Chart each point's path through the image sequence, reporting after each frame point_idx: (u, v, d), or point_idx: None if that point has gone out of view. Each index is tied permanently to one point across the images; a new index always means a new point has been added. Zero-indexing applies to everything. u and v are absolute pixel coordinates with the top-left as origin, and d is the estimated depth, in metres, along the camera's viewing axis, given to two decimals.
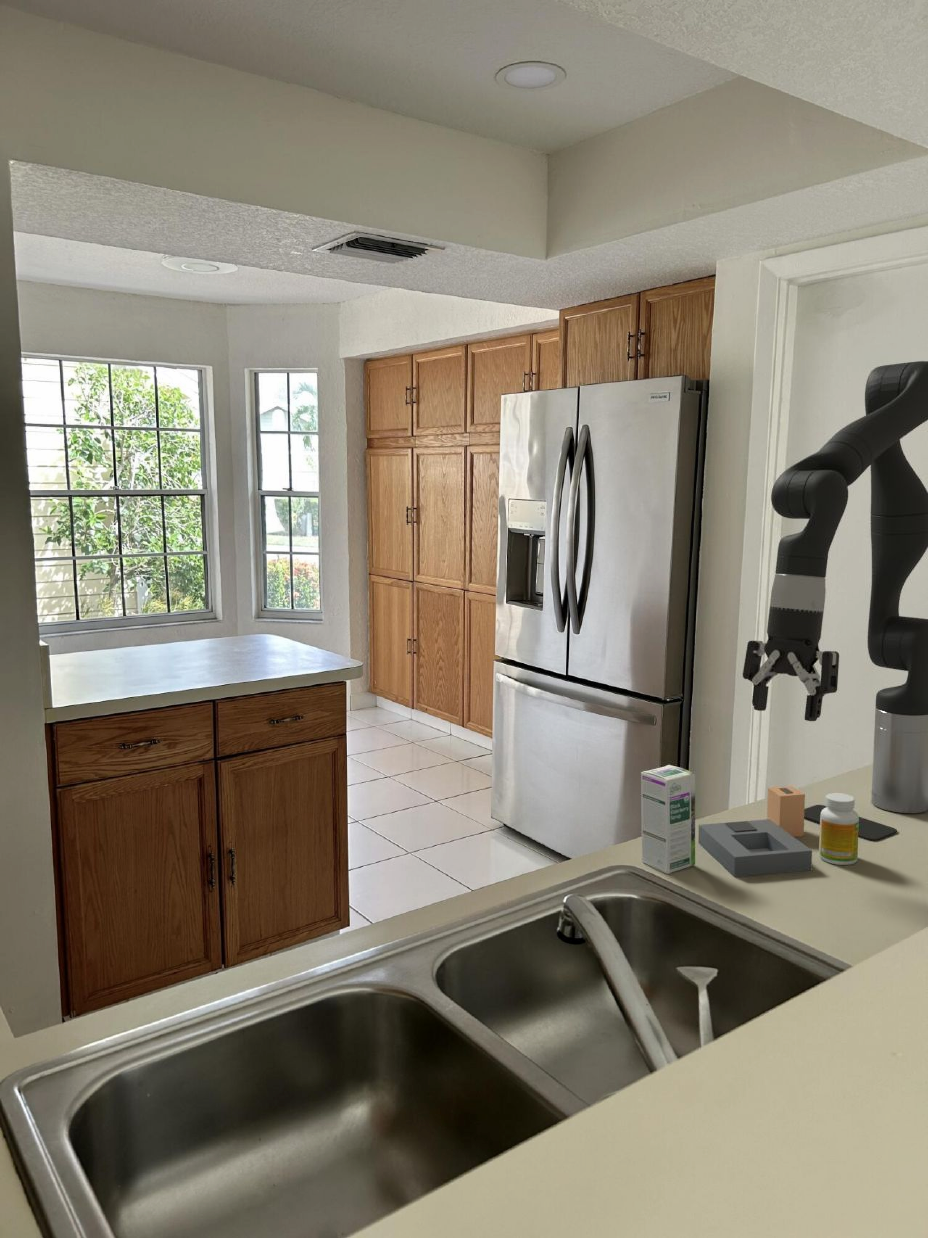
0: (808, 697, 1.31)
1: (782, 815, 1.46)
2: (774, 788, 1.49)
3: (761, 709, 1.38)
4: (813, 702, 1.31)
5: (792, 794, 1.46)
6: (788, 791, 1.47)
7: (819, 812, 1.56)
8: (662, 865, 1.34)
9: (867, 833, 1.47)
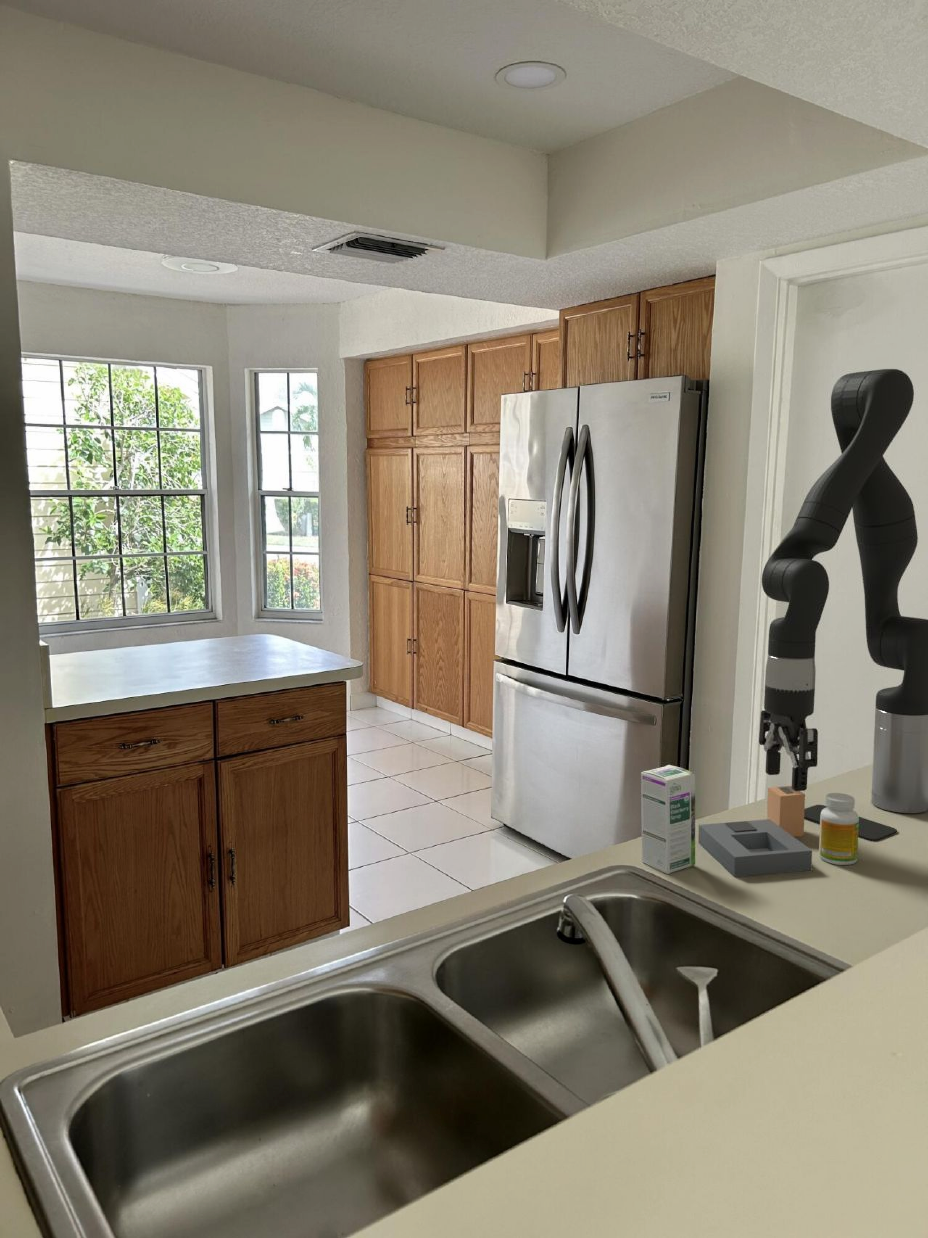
0: (793, 769, 1.43)
1: (782, 815, 1.46)
2: (774, 788, 1.49)
3: (773, 773, 1.51)
4: (797, 774, 1.42)
5: (792, 794, 1.46)
6: (788, 791, 1.47)
7: (819, 812, 1.56)
8: (662, 865, 1.34)
9: (867, 833, 1.47)
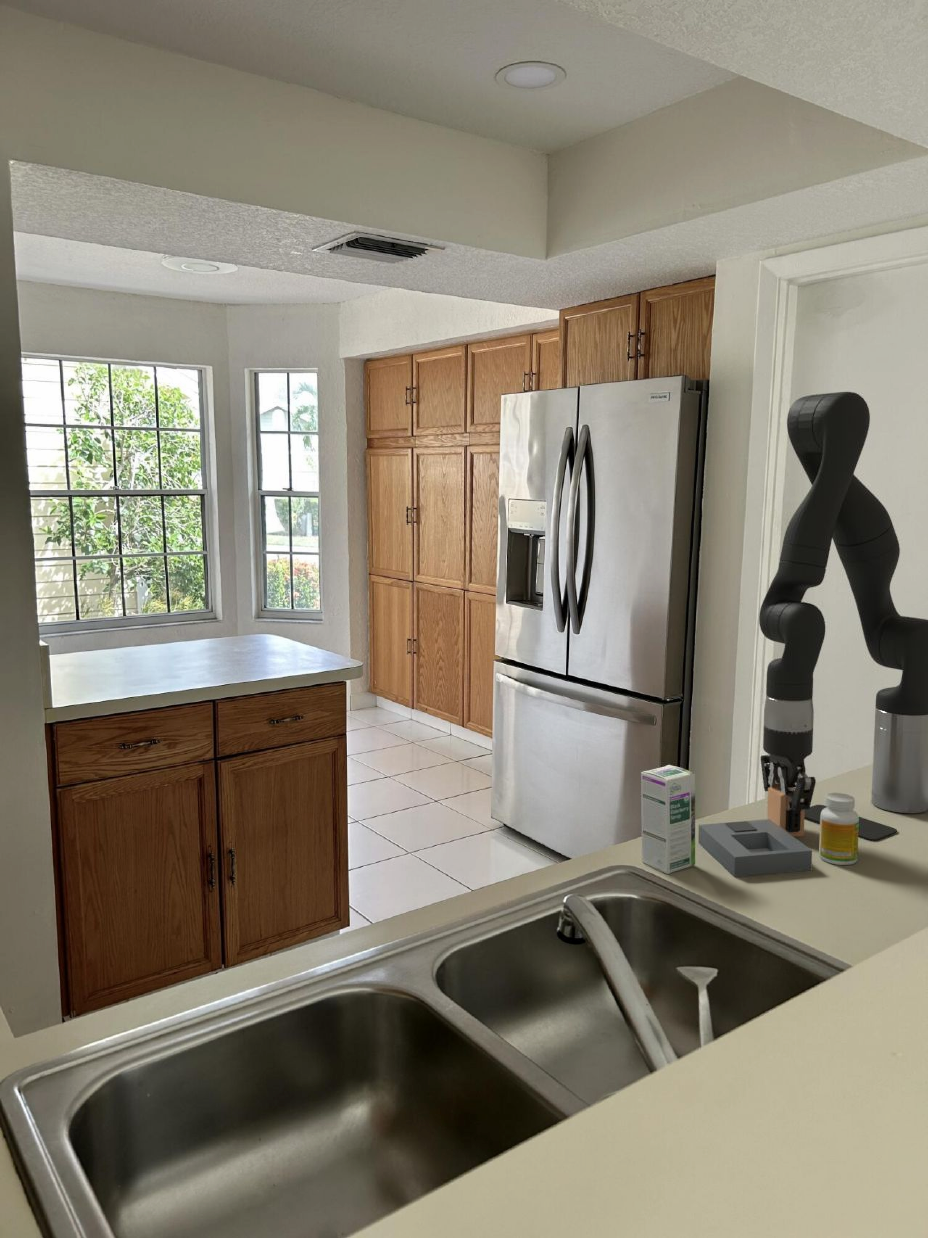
0: (786, 811, 1.46)
1: (782, 815, 1.46)
2: (774, 788, 1.49)
3: None
4: (790, 816, 1.45)
5: None
6: None
7: (819, 812, 1.56)
8: (662, 865, 1.34)
9: (867, 833, 1.47)
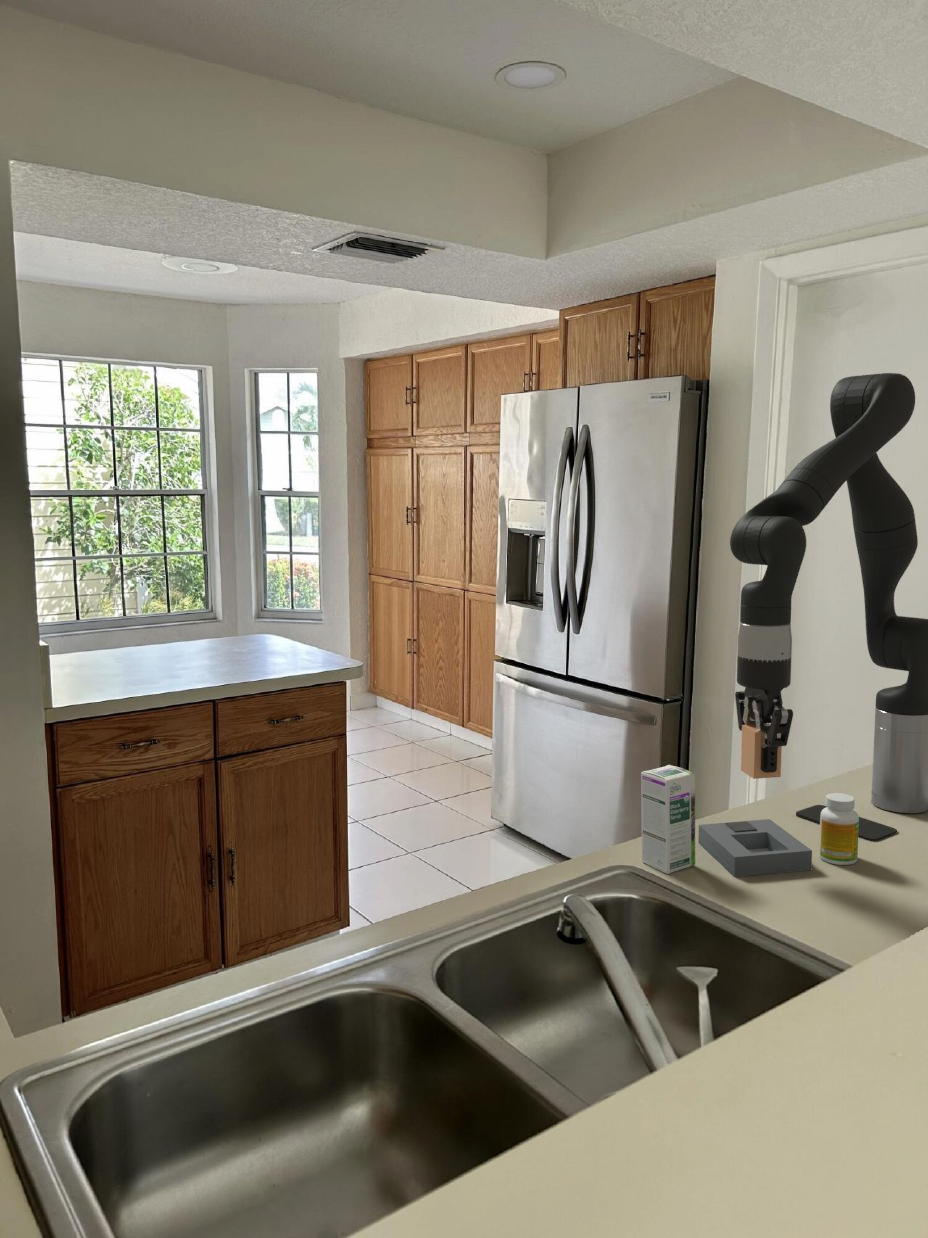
0: (761, 749, 1.33)
1: (756, 753, 1.33)
2: (749, 725, 1.36)
3: None
4: (766, 754, 1.32)
5: None
6: None
7: (819, 812, 1.56)
8: (662, 865, 1.34)
9: (867, 833, 1.47)
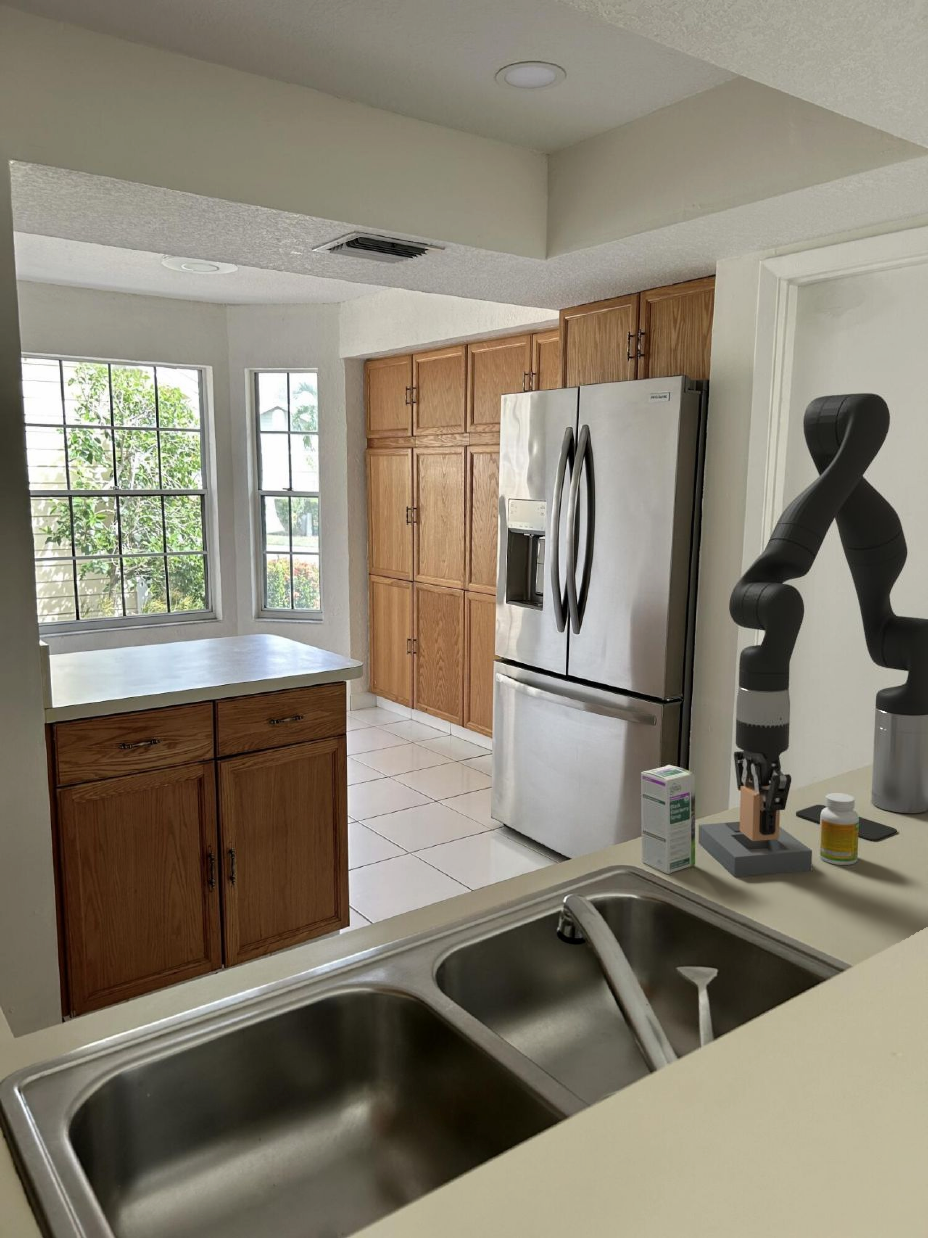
0: (760, 812, 1.34)
1: (755, 816, 1.34)
2: (747, 787, 1.37)
3: None
4: (764, 817, 1.33)
5: None
6: None
7: (819, 812, 1.56)
8: (662, 865, 1.34)
9: (867, 833, 1.47)
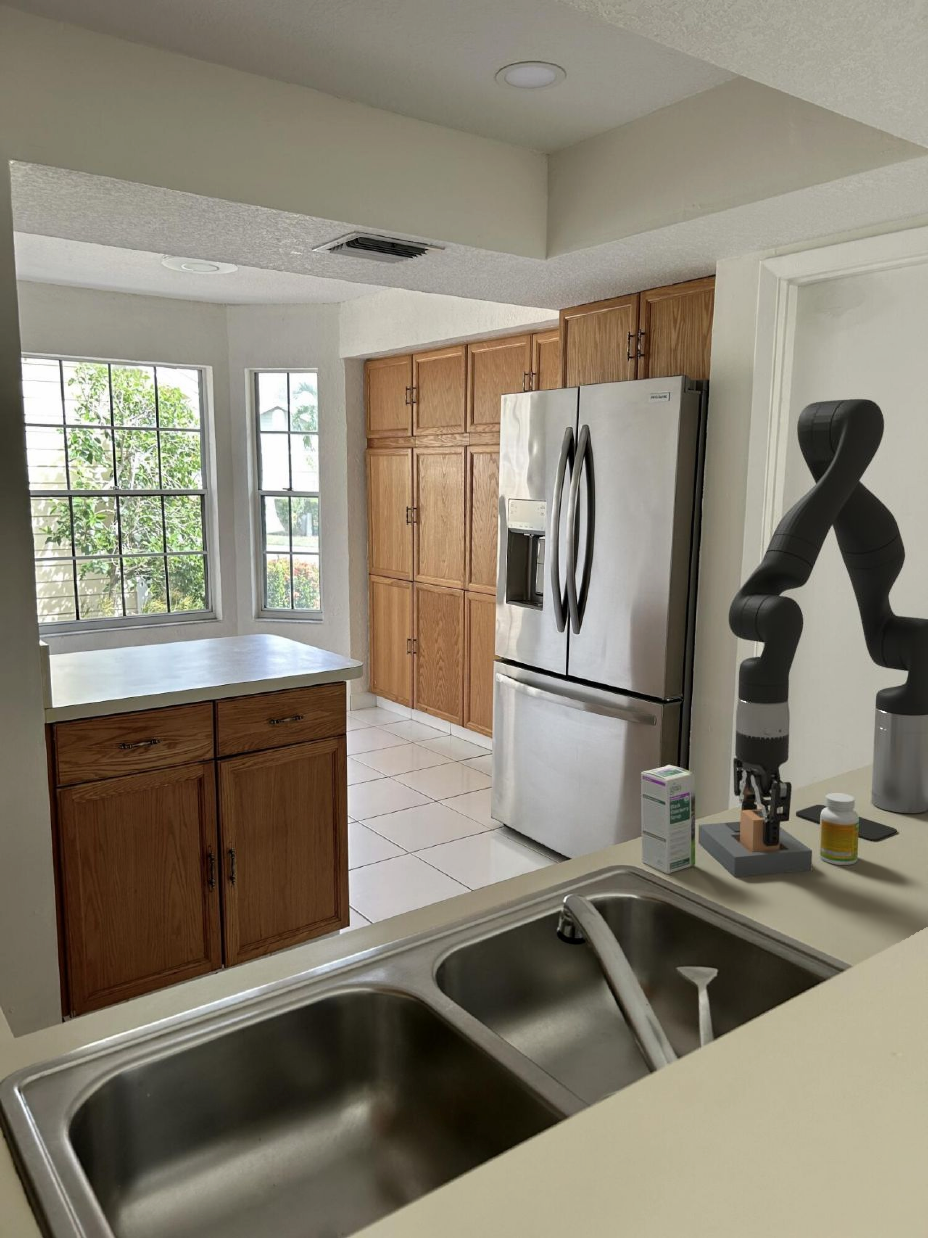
0: (764, 823, 1.33)
1: (755, 840, 1.35)
2: (747, 811, 1.38)
3: None
4: (768, 828, 1.33)
5: None
6: (762, 814, 1.36)
7: (819, 812, 1.56)
8: (662, 865, 1.34)
9: (867, 833, 1.47)
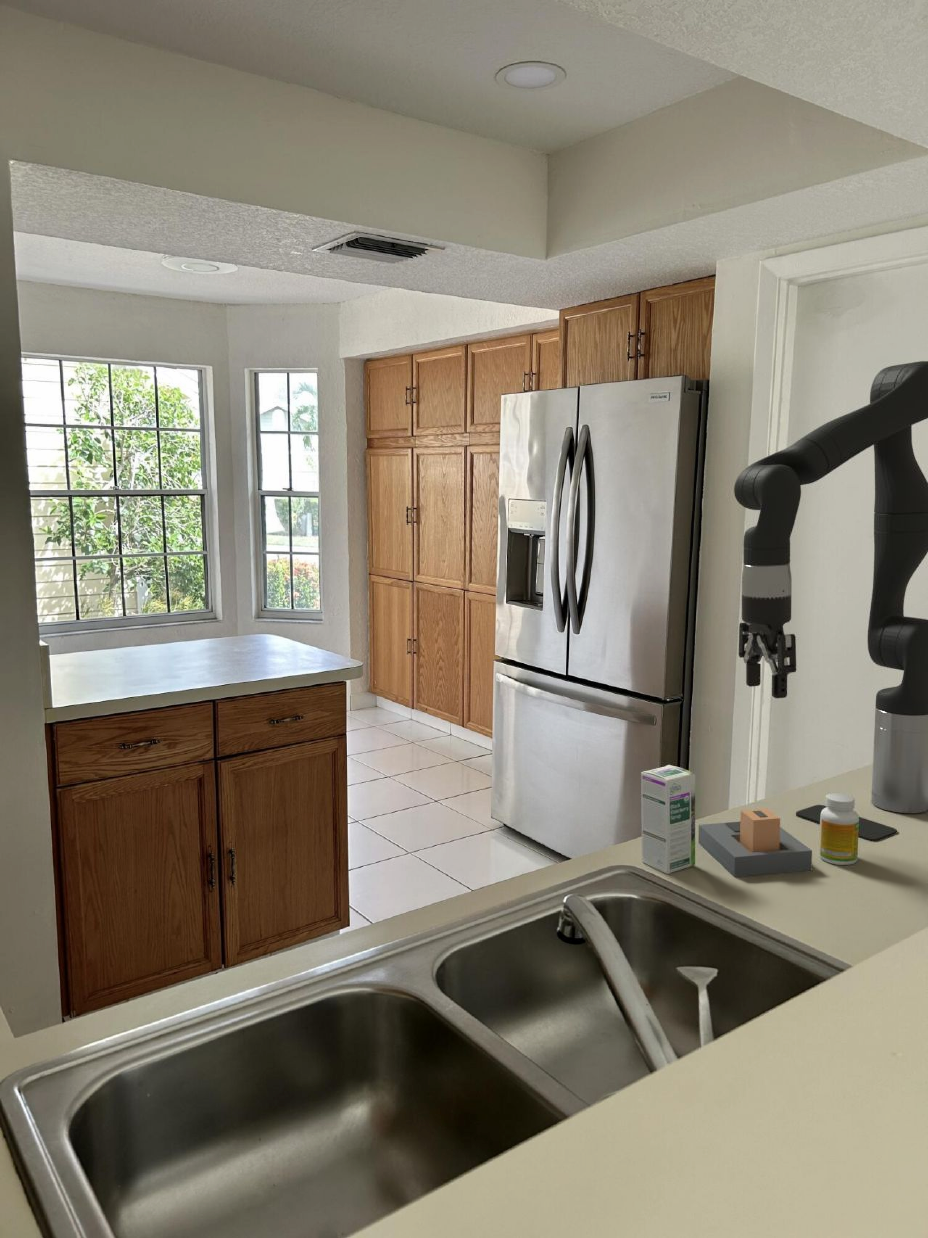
0: (772, 676, 1.42)
1: (755, 840, 1.35)
2: (747, 811, 1.38)
3: (753, 685, 1.51)
4: (777, 681, 1.42)
5: (766, 818, 1.35)
6: (762, 814, 1.36)
7: (819, 812, 1.56)
8: (662, 865, 1.34)
9: (867, 833, 1.47)
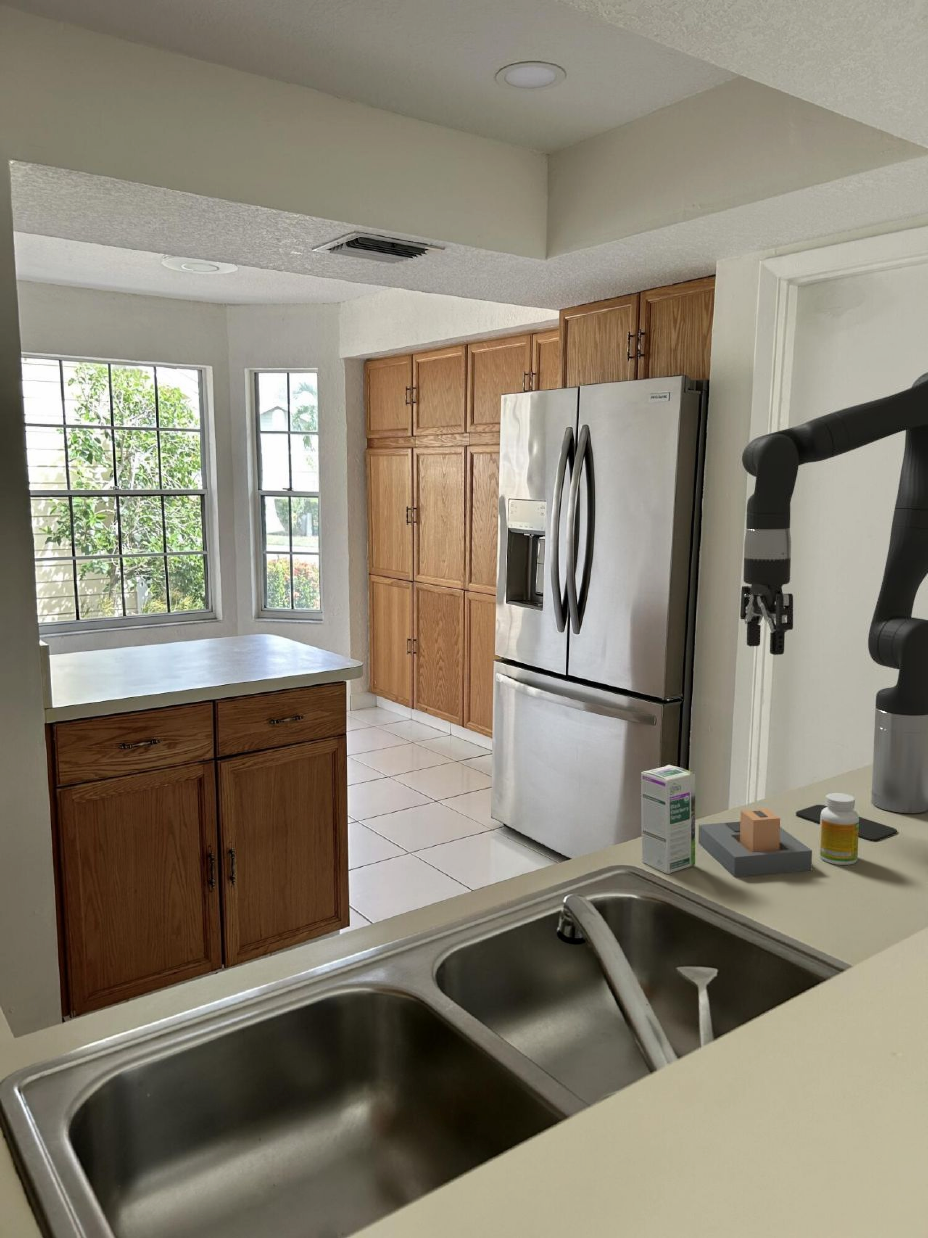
0: (771, 634, 1.51)
1: (755, 840, 1.35)
2: (747, 811, 1.38)
3: (753, 645, 1.60)
4: (775, 638, 1.51)
5: (766, 818, 1.35)
6: (762, 814, 1.36)
7: (819, 812, 1.56)
8: (662, 865, 1.34)
9: (867, 833, 1.47)
